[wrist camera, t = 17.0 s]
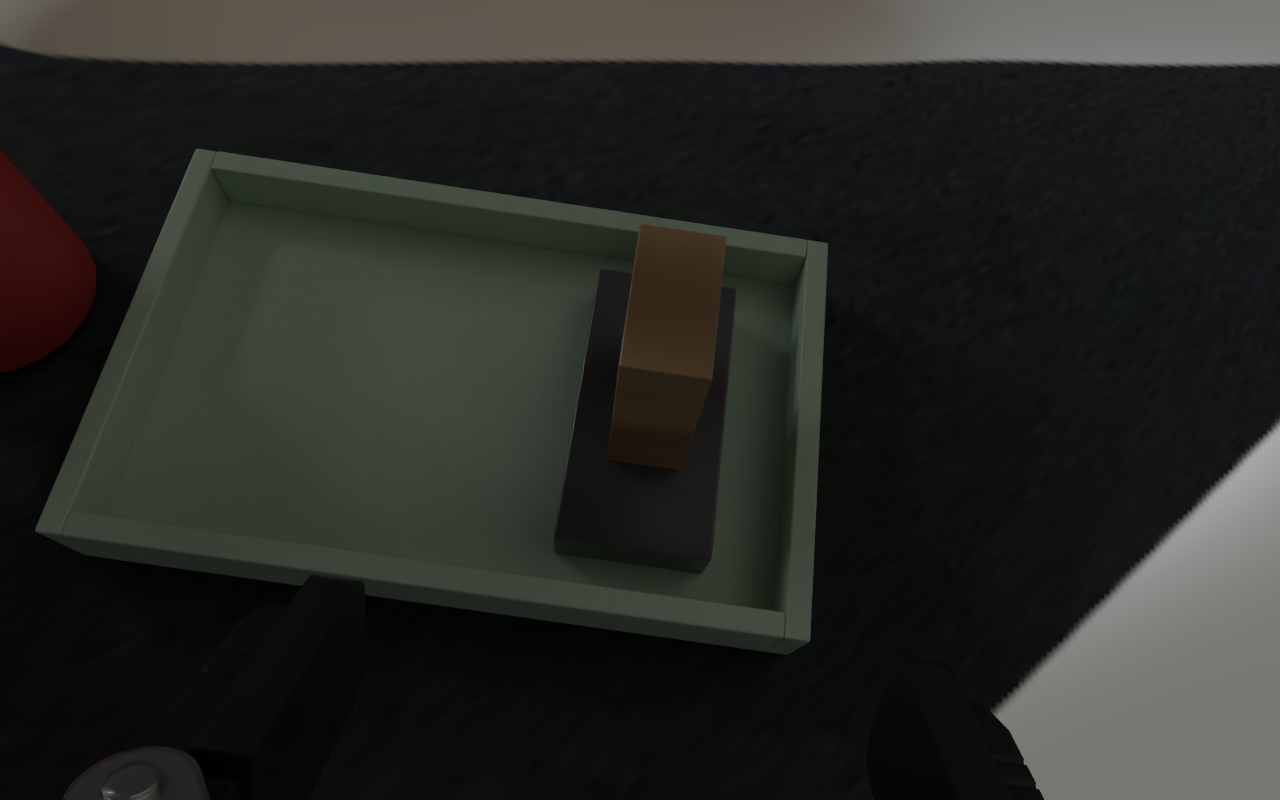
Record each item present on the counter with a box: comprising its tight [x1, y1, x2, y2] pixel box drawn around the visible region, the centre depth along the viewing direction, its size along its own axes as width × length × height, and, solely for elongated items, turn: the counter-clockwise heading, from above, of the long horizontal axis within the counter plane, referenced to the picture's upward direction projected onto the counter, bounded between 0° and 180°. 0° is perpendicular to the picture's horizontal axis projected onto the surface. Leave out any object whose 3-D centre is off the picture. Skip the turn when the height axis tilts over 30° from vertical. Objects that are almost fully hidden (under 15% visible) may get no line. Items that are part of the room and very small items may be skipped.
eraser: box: [554, 224, 737, 574], centre depth 27 cm, size 10×5×9 cm, turn 173°
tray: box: [35, 149, 828, 655], centre depth 31 cm, size 24×15×3 cm, turn 83°
